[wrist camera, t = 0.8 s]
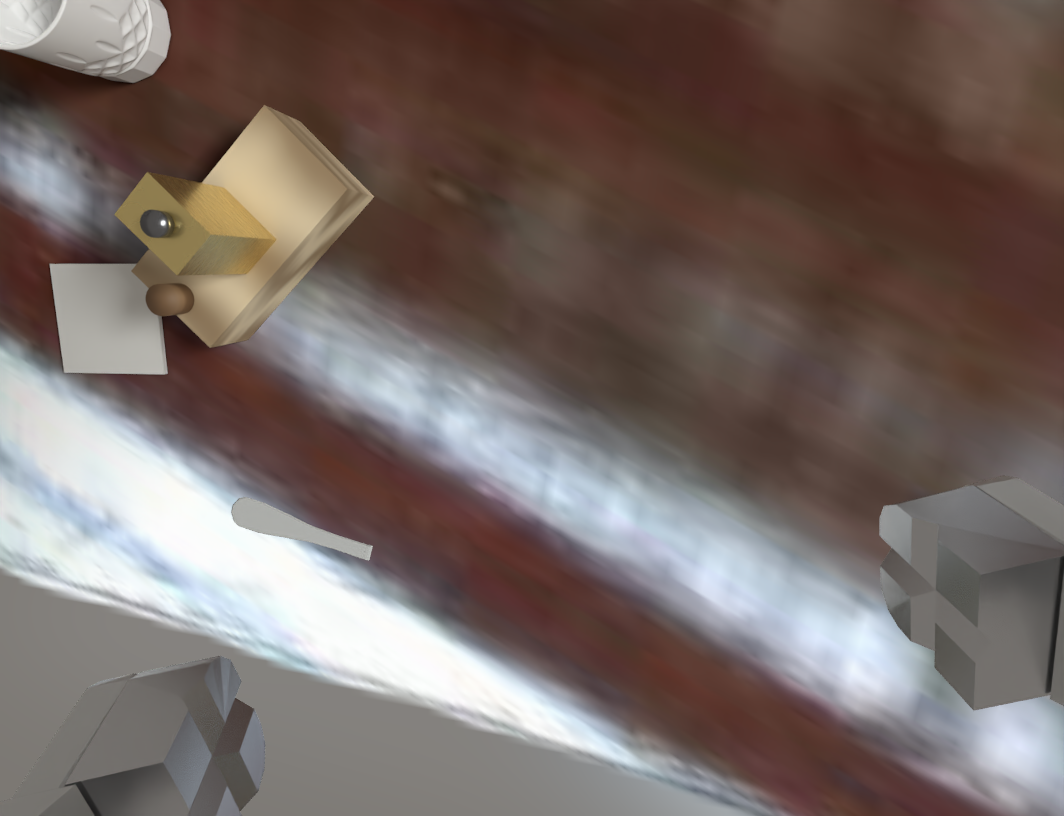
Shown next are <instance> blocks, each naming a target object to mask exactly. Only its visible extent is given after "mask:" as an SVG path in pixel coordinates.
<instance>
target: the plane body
mask: <svg viewBox="0 0 1064 816" xmlns="http://www.w3.org/2000/svg"><path fill="white" fill-rule="evenodd" d="M202 183H204V184H209V185H214V186H219V187H224V188H225V189H226V190H227V191H228V192H229V193H230V194H231V195H232V196H233V197H234V198H235V199H236V200H237V201H238V202H239V203H240V204H241V205H242V206H244V207H245V208H246V209H247V210H248V211H249V212H250V213H251V214H252V215H253V216H254V217H255V218H256V219H257V220H258V221H259V222H260V223H261V224H262V225H263V226H264V227H265V228H266V229H267V230H268V231H269V232H270V233H271V234H272V235H273V236H274V237H275V238H276V239H277V240H276V241H275V242H274V244H273V245H272V246H271V247H270V248H269V249H268V251H267V252H266V253H265V254H264V255H263V256H262V258H261V259H260V260H259V261H258V262H257V263H256V265H255V266H254V267H253V268H252V269H251V270H250V272H249V273H248V274H224V275H182V276H177V275H176V274H175V273H174V272H173V271H172V270H171V269H170V268H169V267H168V266H167V265H166V264H165V263H164V262H162V261H161V260H160V259H159V258H158V257H157V256H156V255H155V254H154V253H153V252H152V251H151V250H150V249H148V251H147V252H146V253H145V254H144V256H143V257H142V258H141V259H140V261H139V262H138V263H137V264H136V266H135V267H134V268H133V269H132V270H131V272H132V273H134V274H135V275H136V276H137V277H138V278H139V279H140V280H141V281H142V282H143V283H144V284H145V285H146V286H147V287H148V288H149V289H148V291H147V293H146V304H147V307H148V308H149V310H150V311H151V312H152V313H154V314H155V315H157V316H171V315H177V316H178V317H179V318H180V319H181V320H182V321H183V322H184V323H185V324H186V325H187V326H188V327H189V328H190V329H191V330H192V331H193V332H194V333H195V334H196V335H197V336H198V337H199V338H200V339H201V340H202V341H204V342H205V343H206V344H207V345H208V346H209V347H210V348H212V347H216V346H221V345H226V344H231V343H236V342H241V341H245V340H249V338H250V337H251V336H252V335H253V334H254V333H255V332H256V331H257V329H258V328H259V327H260V326H261V325H262V324H263V323H264V321H265V320H266V319H267V318H268V317H269V316H270V315H271V313H272V312H273V311H274V310H275V309H276V308H277V307H278V306H279V304H280V303H281V302H282V301H283V300H284V299H285V298H286V296H287V295H288V294H289V293H290V292H291V291H292V290H293V288H294V287H295V286H296V285H297V284H298V283H299V282H300V281H301V279H302V278H303V277H304V276H305V275H306V274H307V273H308V271H309V270H310V269H311V268H312V267H313V266H314V265H315V263H316V262H317V261H318V260H319V259H320V258H321V257H322V255H323V254H324V253H325V252H326V251H327V250H328V249H329V248H330V246H331V245H332V244H333V243H334V242H335V241H336V240H337V238H338V237H339V236H340V235H341V234H342V233H343V232H344V230H345V229H346V228H347V227H348V226H349V225H350V224H351V223H352V221H353V220H354V219H355V218H356V217H357V216H358V215H359V213H360V212H361V211H362V210H363V209H364V208H365V207H366V205H367V204H368V203H369V202H370V201H371V200H372V199H373V198H374V196H373V195H372V194H371V193H370V192H369V191H368V190H367V189H366V188H365V187H364V186H363V185H362V184H361V183H360V182H359V181H358V180H357V179H356V178H355V177H354V176H353V175H352V174H351V173H350V172H349V171H348V170H347V169H346V168H345V167H344V166H343V165H342V164H341V163H340V162H339V161H338V160H337V159H336V158H335V157H334V156H333V155H332V154H331V153H330V152H329V151H328V149H327V148H326V147H325V146H324V145H323V144H322V143H321V142H320V141H319V140H318V139H317V138H316V137H315V136H314V135H313V134H312V133H311V132H310V131H309V130H308V129H307V128H306V127H305V126H304V125H303V124H302V123H301V122H300V121H298V120H296V119H293V118H291V117H289V116H287V115H285V114H283V113H280V112H278V111H276V110H274V109H272V108H270V107H268V106H265V105H264V106H263V107H262V109H261V110H260V111H259V112H258V114H257V115H256V116H255V117H254V119H253V120H252V121H251V122H250V124H249V125H248V126H247V127H246V129H245V130H244V131H243V132H242V134H241V135H240V136H239V137H238V139H237V140H236V141H235V142H234V144H233V145H232V146H231V147H230V149H229V150H228V151H227V152H226V153H225V155H224V156H223V157H222V158H221V160H220V161H219V162H218V163H217V165H216V166H215V167H214V168H213V170H212V171H211V172H210V173H209V175H208V176H207V177H206V178H205V180H204V181H203V182H202Z"/></svg>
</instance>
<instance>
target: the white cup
mask: <svg viewBox="0 0 1064 816" xmlns="http://www.w3.org/2000/svg"><path fill="white" fill-rule="evenodd" d="M170 37H171V32H170V27H169V21H168V16H167V11H166V9H165V7H164V6H163V4H162V3H161V1H160V0H0V49H1V50H4V51H8V52H11V53H15V54H18V55H21V56H25V57H28V58H31V59H35V60H38V61H41V62H44V63H48V64H51V65H54V66H58V67H61V68H65V69H69V70H73V71H77V72H80V73H84V74H88V75H93V76H99V77H102V78H105V79H109V80H112V81H120V82H129V83H135V82H138V81H140V80H142V79H145V78H147V77H149V76H152V75H153V74H154V73H155V72H156V70H157V69H158V68H159V66H160V65H161V64H162V63H163V61H164V60H165V59H166V56H167V51H168V47H169V42H170Z"/></svg>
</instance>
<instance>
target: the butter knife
mask: <svg viewBox="0 0 1064 816" xmlns="http://www.w3.org/2000/svg"><path fill="white" fill-rule="evenodd" d="M232 515H233V518H234V521H235V522H236V523H237V524H238V525H239V526H240V527H243V528H246V529H249V530H252V531H255V532H258V533H263V534H268V535H273V536H279V537H285V538H290V539H296V540H302V541H308V542H312V543H315V544H319V545H322V546H326V547H329V548H333V549H336V550H339V551H342V552H345V553H347V554H350V555H353V556H356V557H359V558H363V559H365V560H369V559H370V555H371V551H372V547H373V546H370V545H366V544H364V543H360V542H357V541H354V540H351V539H348V538H344V537H341V536H338V535H335V534H333V533H330V532H327V531H324V530H322V529H319V528H316V527H313V526H311V525H309V524H307V523H305V522H303V521H301V520H299V519H297V518H295V517H293V516H291V515H289V514H287V513H285V512H282V511H280V510H278V509H276V508H274V507H272V506H270V505H268V504H266V503H263V502H260V501H257V500H254V499H251V498H247V497H243V498H239V499H238V500H237V501H236V502H235V503H234V504H233V508H232Z"/></svg>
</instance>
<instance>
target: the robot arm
mask: <svg viewBox="0 0 1064 816" xmlns="http://www.w3.org/2000/svg"><path fill="white" fill-rule="evenodd" d="M880 536H881V537H882V538H883V539H884V540H885V541H886V542H887V543H888V544H889V545H890V546H891V547H892V549H891V550H890V552H889V553H888V555H887V556H886V558H885V559H884V561H883V562H882V564H881V565H880V574H881V589H882V592H883V595H884V598H885V601H886V604H887V607H888V610H889V612H890V614H891V615H892V617H893V619H894V620H895V622H896V624H897V626H898V627H899V628H900V629H901V630H902V632H903V633H904V634H905V635H906V636H907V637H908V638H909V640H910V641H912V642H914V643H917V644H919V645H922V646H924V647H926V648H929V649H931V650H934V651H935V669H936V670H937V671H938V672H939V673H940V674H941V675H942V676H943V677H944V679H945V680H946V681H947V682H948V683H949V684H950V685H951V686H952V687H953V688H954V689H955V691H956V692H957V693H958V694H959V695H960V696H961V697H962V698H963V699H964V700H965V702H966V703H967V704H968V705H969V706H970V707H971V708H972V709H973V710H978V709H983V708H988V707H993V706H998V705H1003V704H1008V703H1013V702H1018V701H1023V700H1028V699H1033V698H1038V697H1042V696H1047V695H1051V696H1050V699H1051V700H1053V701H1055V702H1057V703H1059V704H1061V705H1063V706H1064V505H1062V504H1061V503H1059V502H1057V501H1056V500H1054V499H1052V498H1051V497H1049V496H1047V495H1046V494H1044V493H1042V492H1041V491H1039V490H1037V489H1036V488H1034V487H1032V486H1031V485H1029V484H1027V483H1026V482H1024V481H1022V480H1021V479H1019V478H1015V477H1010V476H1000V477H996V478H993V479H989V480H985V481H981V482H977V483H973V484H969V485H966V486H964V487H962V488H958V489H954V490H950V491H946V492H941V493H937V494H933V495H929V496H925V497H920V498H916V499H912V500H908V501H903V502H899V503H895V504H891V505H887V506H884V507H883V510H882V513H881V516H880ZM240 684H241V679H240V677H239V675H238V673H237V672H236V670H235V668H234V666H233V664H232V662H231V660H229V659H227V658H224V657H222V656H218V657H212V658H207V659H202V660H198V661H193V662H188V663H183V664H178V665H173V666H168V667H163V668H158V669H154V670H149V671H144V672H140V673H139V674H130V675H125V676H121V677H117V678H113V679H109V680H104V681H100V682H98V683H96V684H94V685H92V686H90V687H88V688H87V689H86V690H85V692H84V693H83V695H82V696H81V698H80V699H79V700H78V702H77V703H76V705H75V706H74V708H73V709H72V711H71V712H70V714H69V715H68V716H67V718H66V720H65V721H64V722H63V724H62V726H61V727H60V728H59V730H58V731H57V733H56V734H55V735H54V737H53V738H52V740H51V741H50V743H49V744H48V746H47V747H46V749H45V750H44V752H43V753H42V755H41V756H40V757H39V759H38V760H37V762H36V763H35V765H34V766H33V768H32V769H31V770H30V772H29V773H28V775H27V776H26V778H25V779H24V781H23V782H22V784H21V785H20V787H19V788H18V790H17V791H16V793H15V794H14V795H13V797H12V799H9V800H5V801H1V802H0V816H242V815H241V813H240V811H241V810H242V809H243V808H244V806H245V805H246V804H247V803H248V802H249V801H250V800H251V799H252V798H253V797H254V796H255V794H256V793H257V792H258V790H259V787H260V783H261V780H262V776H263V772H264V764H265V741H264V736H263V732H262V727H261V723H260V721H259V719H258V717H257V714H256V712H255V710H254V709H253V708H252V707H250V706H248V705H246V704H245V703H243V702H241V701H240V700H238V699H236V698H235V697H236V694H237V692H238V689H239V686H240Z"/></svg>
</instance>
